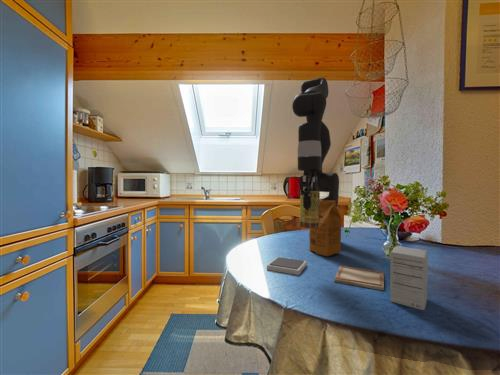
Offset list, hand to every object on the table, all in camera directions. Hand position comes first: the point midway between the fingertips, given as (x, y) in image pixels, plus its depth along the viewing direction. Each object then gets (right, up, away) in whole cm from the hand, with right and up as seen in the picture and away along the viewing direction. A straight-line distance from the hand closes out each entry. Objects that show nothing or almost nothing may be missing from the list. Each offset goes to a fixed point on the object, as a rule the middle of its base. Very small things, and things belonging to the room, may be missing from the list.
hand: (309, 206), depth 84 cm
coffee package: (+11, -21, +22) cm, 32 cm away
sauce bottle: (0, -7, 0) cm, 7 cm away
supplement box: (+20, -22, -20) cm, 36 cm away
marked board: (+14, -22, -5) cm, 26 cm away
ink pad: (-7, -21, +4) cm, 23 cm away
